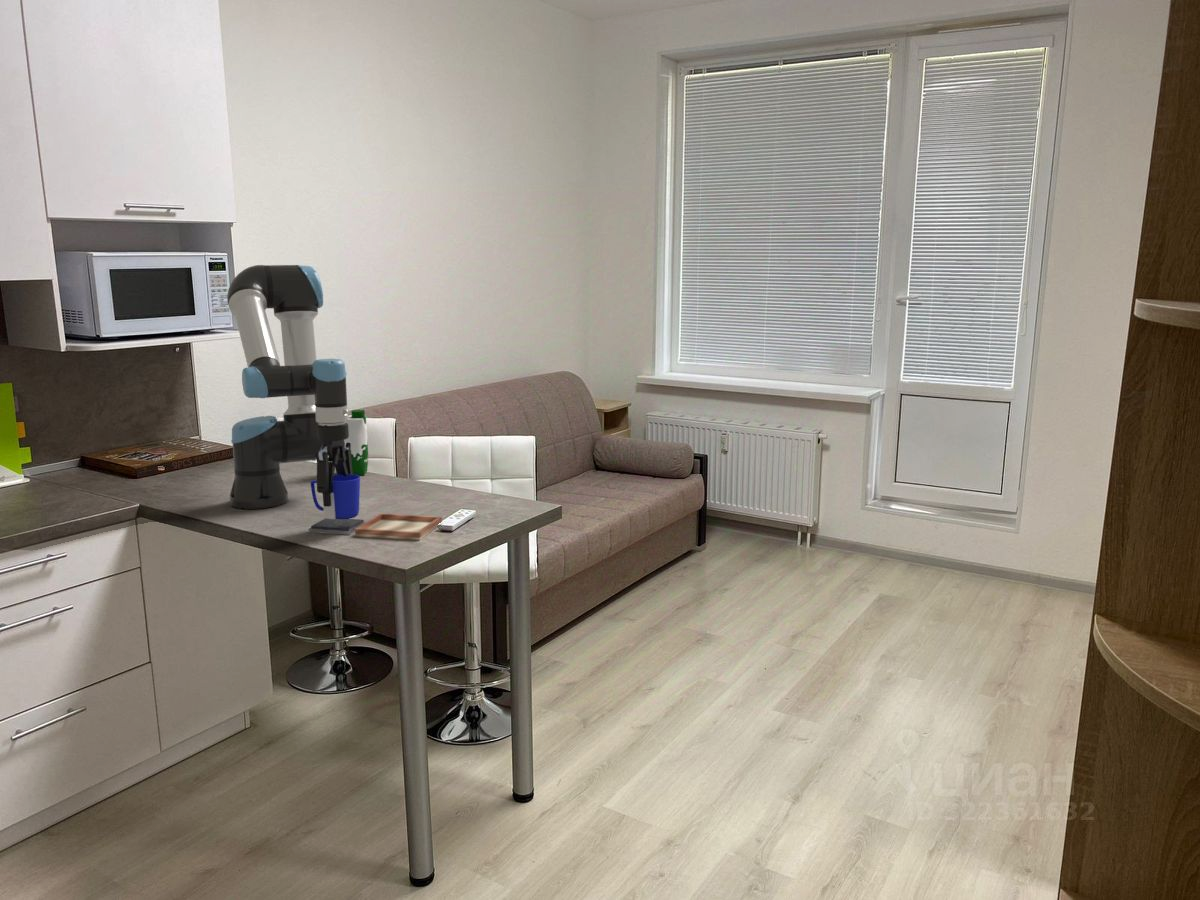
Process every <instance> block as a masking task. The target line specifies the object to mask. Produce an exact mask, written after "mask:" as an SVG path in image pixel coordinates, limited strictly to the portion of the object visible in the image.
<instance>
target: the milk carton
mask: <svg viewBox="0 0 1200 900" xmlns="http://www.w3.org/2000/svg"><path fill="white" fill-rule="evenodd" d="M350 413H351V415H349V414H348V420H347V421H346V422H345V423H347V424H348V428H349V437H348V438H347V439H345V440H344V442H348V443H351V450H350V452H351V462H352V471H353V475H358V476H360V477H361V476H362V475H363V477H364V476H365V475H366V473H367V472H368V467H369V465H368V464H369V463H368V462H369V444H368V427H367V426H368V425H367V416H366V411H365V409H352V410H351V411H350Z"/></svg>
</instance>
